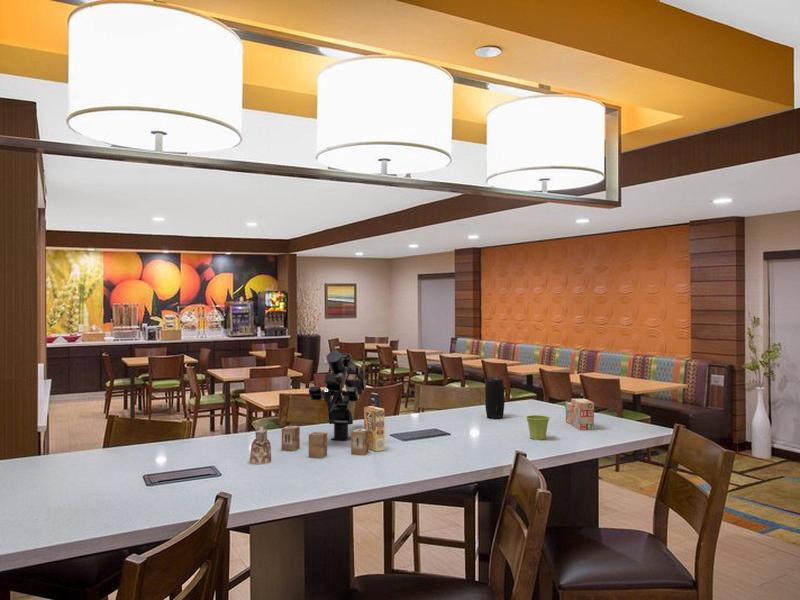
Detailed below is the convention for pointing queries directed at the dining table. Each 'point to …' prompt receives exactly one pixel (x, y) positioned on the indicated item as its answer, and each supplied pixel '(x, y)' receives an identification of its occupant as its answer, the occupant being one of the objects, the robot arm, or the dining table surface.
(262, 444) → the figurine
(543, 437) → the plant pot
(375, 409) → the candy box
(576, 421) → the patterned cardboard box
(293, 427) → the tile block
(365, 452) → the tile block
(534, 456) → the dining table surface
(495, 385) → the portable speaker
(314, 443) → the plain block
